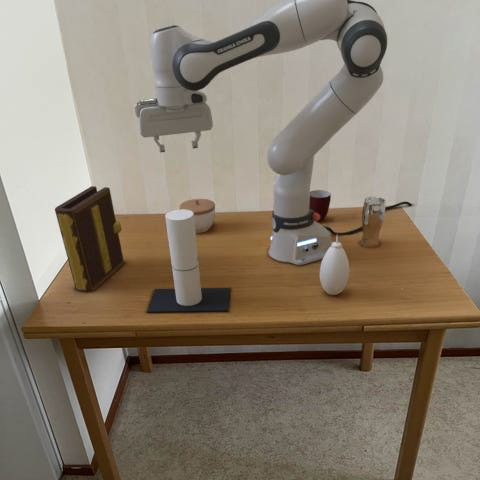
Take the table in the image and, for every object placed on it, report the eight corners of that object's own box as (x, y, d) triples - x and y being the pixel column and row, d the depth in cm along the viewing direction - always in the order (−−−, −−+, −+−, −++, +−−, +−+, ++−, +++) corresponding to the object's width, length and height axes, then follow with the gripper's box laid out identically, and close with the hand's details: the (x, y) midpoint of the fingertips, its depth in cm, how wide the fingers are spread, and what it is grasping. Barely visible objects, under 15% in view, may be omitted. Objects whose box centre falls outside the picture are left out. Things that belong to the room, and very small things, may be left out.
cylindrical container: (203, 292, 140) (195, 209, 126) (199, 306, 134) (190, 220, 120) (179, 292, 141) (168, 209, 127) (174, 305, 135) (162, 220, 121)
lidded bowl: (203, 238, 172) (200, 208, 165) (175, 231, 177) (171, 202, 171) (223, 225, 180) (221, 196, 174) (195, 219, 186) (193, 191, 180)
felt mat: (230, 289, 142) (230, 287, 142) (227, 311, 132) (227, 310, 132) (155, 290, 143) (154, 288, 143) (147, 312, 133) (147, 311, 133)
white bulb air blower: (314, 289, 140) (317, 230, 130) (339, 284, 142) (344, 226, 132) (325, 302, 134) (329, 242, 124) (351, 297, 135) (358, 237, 125)
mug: (300, 224, 178) (301, 198, 173) (300, 216, 185) (300, 190, 179) (330, 224, 177) (331, 197, 172) (328, 215, 184) (329, 189, 178)
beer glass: (357, 246, 161) (361, 203, 153) (361, 238, 167) (365, 195, 158) (378, 249, 159) (384, 205, 151) (382, 240, 164) (387, 197, 156)
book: (94, 293, 143) (75, 212, 129) (70, 289, 146) (48, 209, 132) (131, 259, 160) (117, 184, 146) (108, 256, 163) (93, 182, 149)
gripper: (134, 102, 126) (143, 157, 134) (212, 95, 130) (215, 148, 138) (132, 98, 131) (140, 151, 139) (206, 91, 135) (210, 143, 143)
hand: (178, 149), depth 138 cm, fingers open, 8 cm apart
